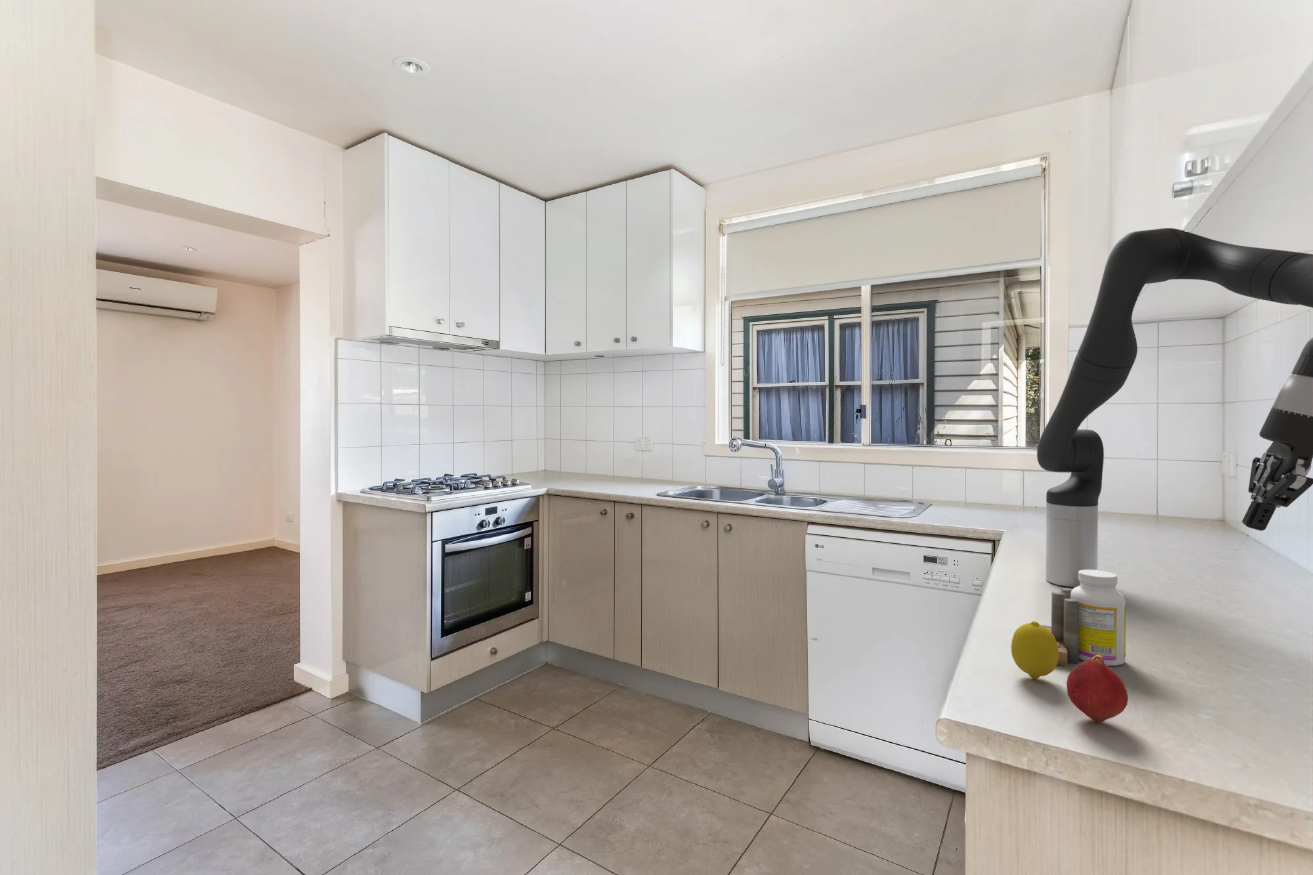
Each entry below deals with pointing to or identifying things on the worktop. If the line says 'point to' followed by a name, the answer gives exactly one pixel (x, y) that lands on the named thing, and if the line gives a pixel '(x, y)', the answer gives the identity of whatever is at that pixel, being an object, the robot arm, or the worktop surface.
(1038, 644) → the lemon
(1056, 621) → the pin block
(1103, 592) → the supplement bottle
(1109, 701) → the onion
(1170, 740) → the worktop surface
